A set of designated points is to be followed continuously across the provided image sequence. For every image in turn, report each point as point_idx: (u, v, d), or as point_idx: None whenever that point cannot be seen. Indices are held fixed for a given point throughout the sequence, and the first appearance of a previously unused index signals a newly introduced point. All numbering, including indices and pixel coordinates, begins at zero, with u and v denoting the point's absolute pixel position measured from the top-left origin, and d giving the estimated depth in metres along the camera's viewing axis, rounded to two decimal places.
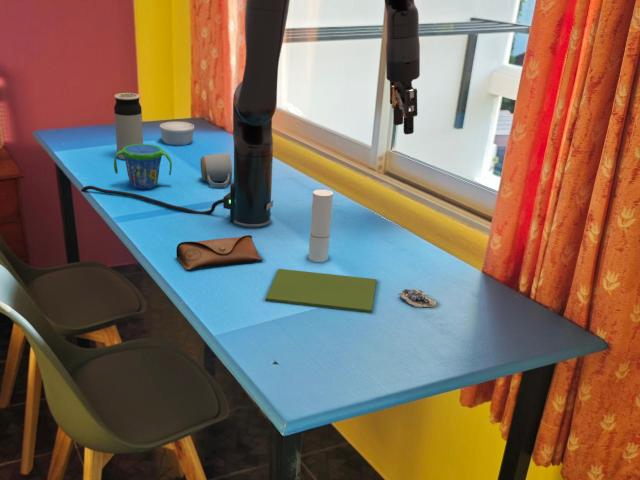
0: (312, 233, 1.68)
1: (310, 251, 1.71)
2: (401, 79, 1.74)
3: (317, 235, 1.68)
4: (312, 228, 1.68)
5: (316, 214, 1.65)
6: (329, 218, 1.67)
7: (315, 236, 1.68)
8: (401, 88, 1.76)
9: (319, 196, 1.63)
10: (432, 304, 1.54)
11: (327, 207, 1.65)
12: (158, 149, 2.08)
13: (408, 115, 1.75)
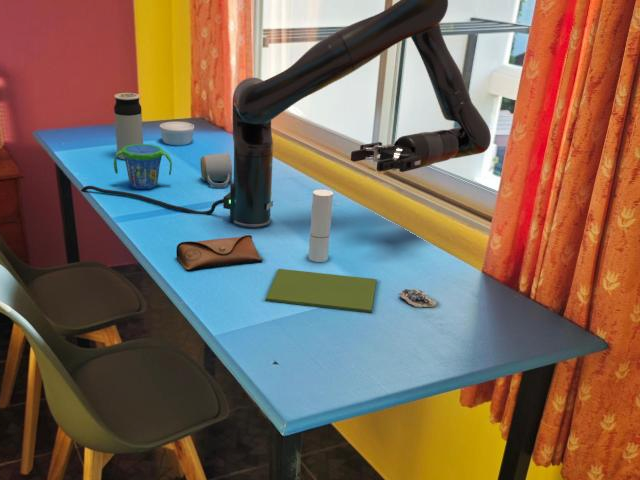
0: (312, 233, 1.68)
1: (310, 251, 1.71)
2: (417, 150, 1.70)
3: (317, 235, 1.68)
4: (312, 228, 1.68)
5: (316, 214, 1.65)
6: (329, 218, 1.67)
7: (315, 236, 1.68)
8: (406, 152, 1.70)
9: (319, 196, 1.63)
10: (432, 304, 1.54)
11: (327, 207, 1.65)
12: (158, 149, 2.08)
13: (404, 162, 1.65)
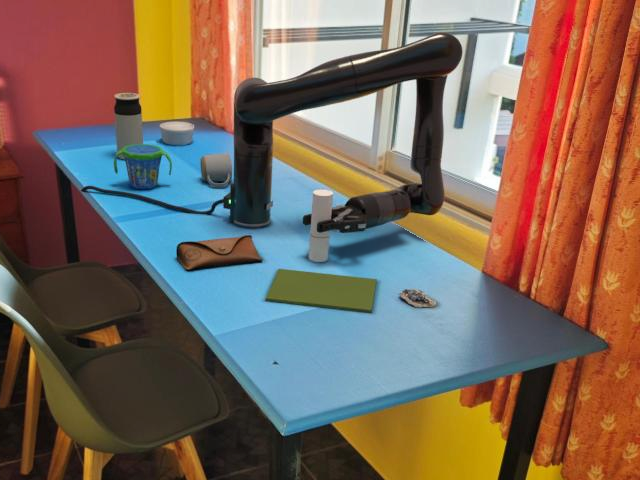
0: (312, 233, 1.68)
1: (310, 251, 1.71)
2: (367, 212, 1.70)
3: (317, 235, 1.68)
4: (312, 228, 1.68)
5: (316, 214, 1.65)
6: (329, 218, 1.67)
7: (315, 236, 1.68)
8: (356, 214, 1.70)
9: (319, 196, 1.63)
10: (432, 304, 1.54)
11: (327, 207, 1.65)
12: (158, 149, 2.08)
13: (344, 223, 1.65)
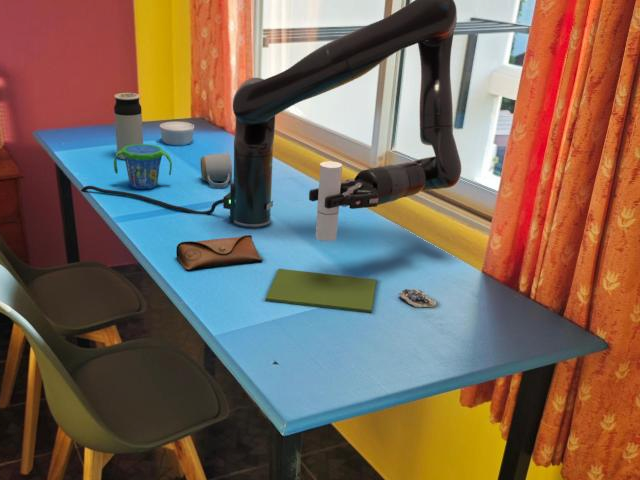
0: (319, 209, 1.54)
1: (317, 229, 1.57)
2: (379, 186, 1.56)
3: (325, 211, 1.54)
4: (319, 204, 1.54)
5: (324, 188, 1.51)
6: (338, 192, 1.52)
7: (322, 213, 1.54)
8: (368, 188, 1.56)
9: (326, 168, 1.49)
10: (432, 304, 1.54)
11: (335, 180, 1.50)
12: (158, 149, 2.08)
13: (354, 198, 1.51)
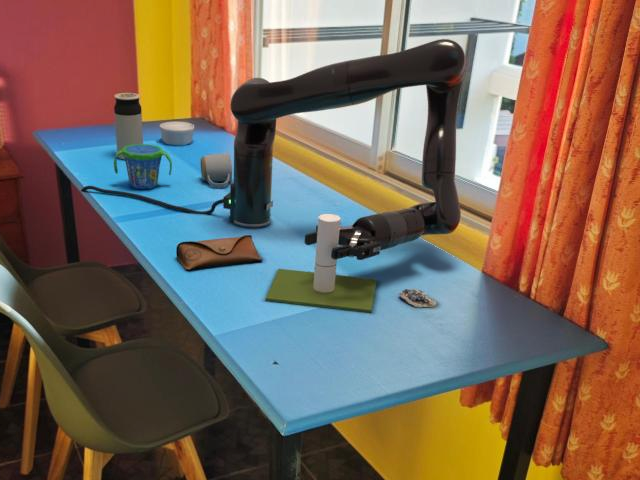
0: (317, 261, 1.54)
1: (315, 281, 1.56)
2: (377, 234, 1.55)
3: (323, 264, 1.53)
4: (317, 256, 1.53)
5: (322, 241, 1.51)
6: (336, 245, 1.52)
7: (320, 265, 1.53)
8: (366, 236, 1.55)
9: (325, 222, 1.49)
10: (432, 304, 1.54)
11: (333, 234, 1.50)
12: (158, 149, 2.08)
13: (362, 249, 1.49)
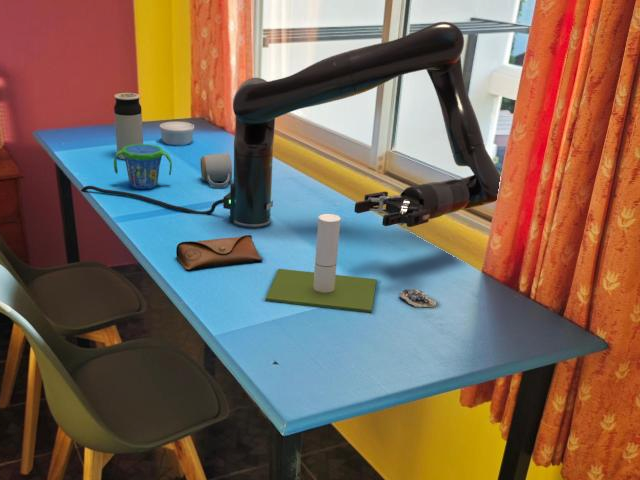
0: (317, 261, 1.54)
1: (315, 281, 1.56)
2: (425, 203, 1.59)
3: (323, 264, 1.53)
4: (317, 256, 1.53)
5: (322, 241, 1.51)
6: (336, 245, 1.52)
7: (320, 265, 1.53)
8: (414, 204, 1.59)
9: (325, 222, 1.49)
10: (432, 304, 1.54)
11: (334, 234, 1.50)
12: (158, 149, 2.08)
13: (412, 216, 1.53)
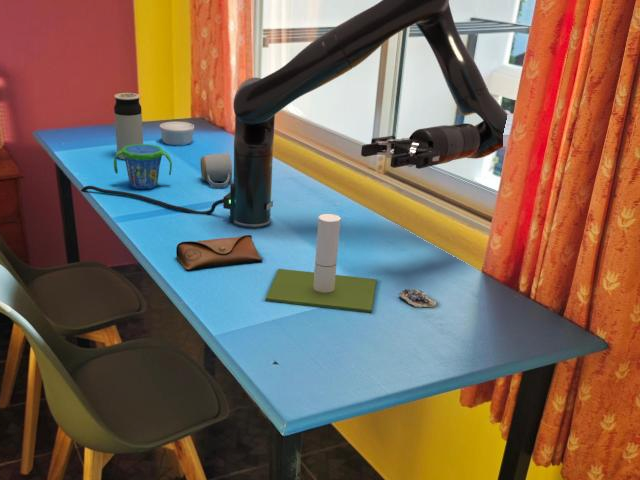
0: (317, 261, 1.54)
1: (315, 281, 1.56)
2: (435, 145, 1.53)
3: (323, 264, 1.53)
4: (317, 256, 1.53)
5: (322, 241, 1.51)
6: (336, 245, 1.52)
7: (320, 265, 1.53)
8: (423, 147, 1.53)
9: (325, 222, 1.49)
10: (432, 304, 1.54)
11: (334, 234, 1.50)
12: (158, 149, 2.08)
13: (421, 157, 1.47)
